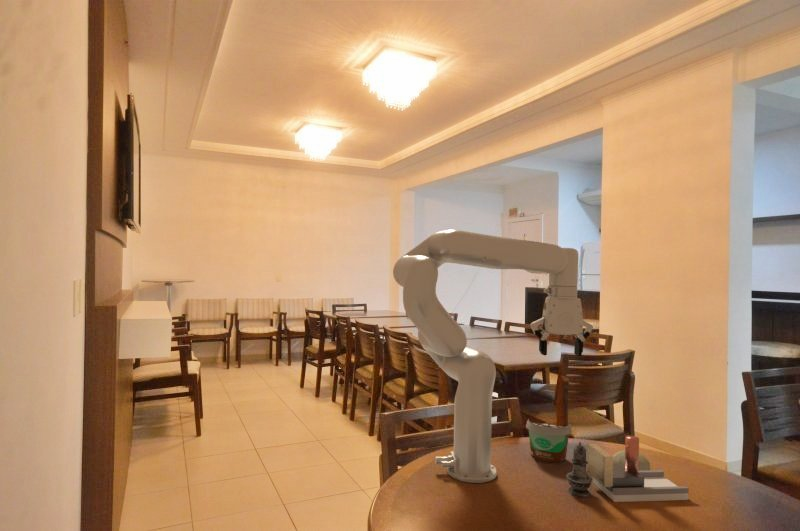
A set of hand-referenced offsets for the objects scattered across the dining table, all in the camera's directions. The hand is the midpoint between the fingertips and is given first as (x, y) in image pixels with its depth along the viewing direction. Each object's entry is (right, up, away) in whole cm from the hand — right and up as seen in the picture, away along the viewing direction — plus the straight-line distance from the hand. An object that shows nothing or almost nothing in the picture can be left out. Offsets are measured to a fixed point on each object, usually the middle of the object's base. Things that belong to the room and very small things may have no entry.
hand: (560, 354), depth 133 cm
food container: (-4, -30, +1) cm, 30 cm away
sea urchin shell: (+17, -30, -4) cm, 35 cm away
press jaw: (+8, -28, -17) cm, 33 cm away
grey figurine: (-2, -30, -18) cm, 35 cm away
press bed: (+13, -30, -17) cm, 36 cm away
